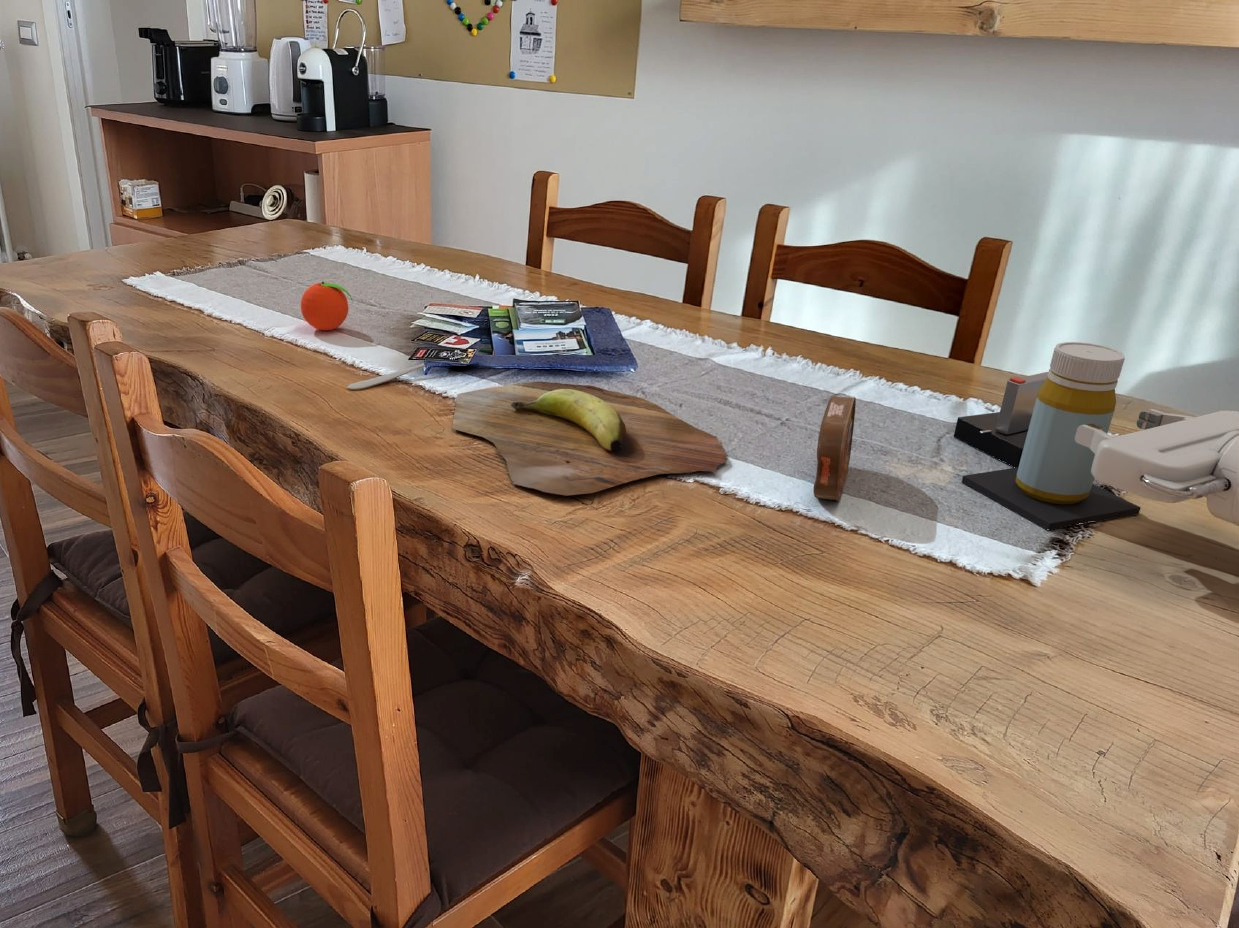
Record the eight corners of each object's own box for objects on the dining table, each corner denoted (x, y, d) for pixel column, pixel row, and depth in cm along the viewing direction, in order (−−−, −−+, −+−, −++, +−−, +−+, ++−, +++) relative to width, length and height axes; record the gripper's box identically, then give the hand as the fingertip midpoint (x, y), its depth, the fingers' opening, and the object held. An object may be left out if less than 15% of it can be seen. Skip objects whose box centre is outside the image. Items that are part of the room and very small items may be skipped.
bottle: (1001, 478, 109) (1036, 340, 103) (1062, 477, 110) (1101, 340, 103) (1036, 507, 103) (1076, 362, 96) (1102, 505, 104) (1146, 362, 97)
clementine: (363, 326, 156) (360, 278, 153) (346, 338, 150) (344, 289, 147) (312, 321, 157) (309, 274, 154) (294, 334, 151) (291, 285, 148)
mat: (1047, 469, 114) (1049, 462, 114) (1138, 514, 104) (1141, 507, 104) (961, 482, 110) (962, 475, 110) (1047, 530, 100) (1049, 523, 100)
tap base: (1022, 421, 128) (1027, 401, 126) (1109, 462, 117) (1116, 440, 116) (936, 433, 123) (941, 412, 122) (1019, 476, 112) (1025, 453, 111)
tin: (836, 514, 102) (850, 435, 98) (804, 509, 103) (817, 430, 99) (850, 460, 115) (863, 388, 111) (821, 455, 116) (833, 383, 112)
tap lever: (1044, 418, 122) (1058, 367, 119) (1056, 422, 120) (1070, 371, 118) (994, 430, 117) (1007, 378, 115) (1006, 435, 116) (1020, 382, 113)
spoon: (490, 366, 141) (490, 354, 140) (355, 393, 129) (355, 381, 128) (473, 358, 144) (473, 347, 143) (340, 384, 132) (339, 372, 131)
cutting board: (765, 466, 113) (770, 433, 111) (548, 514, 100) (550, 477, 98) (593, 373, 140) (595, 345, 138) (405, 401, 127) (405, 371, 125)
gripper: (1175, 533, 86) (1032, 472, 97) (1309, 490, 95) (1165, 438, 106) (1199, 463, 83) (1049, 408, 94) (1335, 425, 92) (1184, 379, 103)
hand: (1112, 424), depth 100 cm, fingers open, 8 cm apart
